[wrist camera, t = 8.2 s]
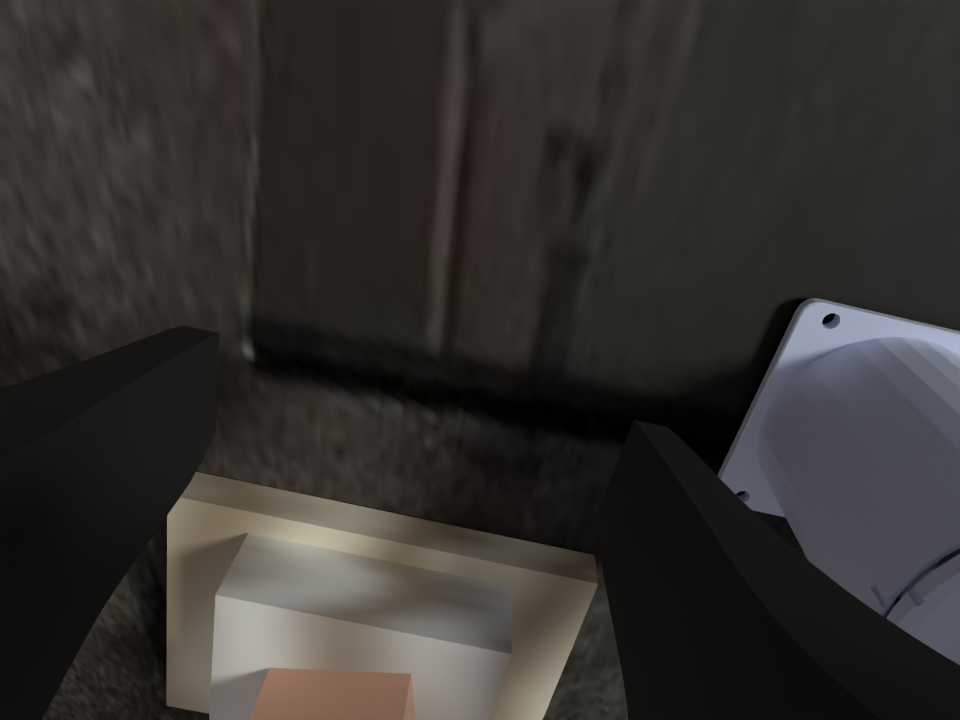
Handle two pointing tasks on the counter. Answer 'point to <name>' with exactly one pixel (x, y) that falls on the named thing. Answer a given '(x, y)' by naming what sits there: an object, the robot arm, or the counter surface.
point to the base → (370, 533)
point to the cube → (334, 695)
